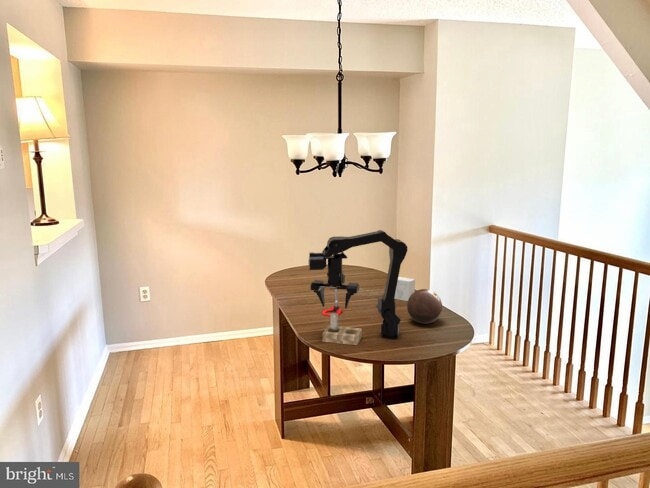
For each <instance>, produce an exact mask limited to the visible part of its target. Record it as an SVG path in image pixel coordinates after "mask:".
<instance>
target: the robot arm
mask: <svg viewBox="0 0 650 488" xmlns="http://www.w3.org/2000/svg"><path fill="white" fill-rule="evenodd" d="M326 242H327V243H326V246H325V248H323V250H322V251H321V252H309V253H308V255H309V256H308V270H309V271H323V270H324V269H326V268H327V272H326V276H327V277H326V278H327V283H325V282H324V280H320V279H319V280H318V279H315V280H313V282H311V283H310V287H309V288H310V291H313V293H316V296H317V297H318V299H319V302H320V303H321V306H322V307H323V308H324V307H325V305H326V304H325V303H326V301H325V289H329V290H330V289H332V290H335V289H337V290H343V291H344V290H345V291H346V293H345V303H344V308H345V310H347V308H348V306H349V302H350V300H351V298H352V297H353V296H354V295H355V294H358V292H359V291H360V284H359V283H358V282H349V283H348V284H345V282H346V275H345V274H344V272H343V259H344V260H345V259H348V256H347V254H345V252H346V251H348V250H349V249H351V248H354V247H361V246H365V245H369V244H374V243H379V242H382V243H383V244H384V245H385V246H387V247H389V248H388V250H389V251H388V254H389V255H388V257H389V264H388V265H389V266H388V270H387V274H386V275H387V276H386V282H385V286H384V292H383V295H382V297H377V305H376V309H377V312H378V313H379V315H380V316H381V318H382V320H383V321H382V323H381V325H380V326H381V327H380V334H381V338H386V339H394V340H395V339H398V338H399V336H400V331H399V328H400V323H401V318H400V317H399V315H398V314H397V313H396V301H395V300H396V299H394V297H395V292H396V287H397V282H398V277H400V275H399V274H400V270H401V265H402V263H403V261H404V260H405V258H406V255H407V253H408V250H409V248H408V245H407V244H406V243H405V242H404V241H402V240H401V239H398V238H397V239H396V238H395V239H394V238H393V237H391V236H390V235H389V234H387V233H386V232H385V231H384V230H382V229H378V230H376V231H371V232H366V233H361V234H356V235H352V236H331V237H329V238H328V240H327V241H326Z"/></svg>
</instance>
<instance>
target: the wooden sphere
mask: <svg viewBox="0 0 650 488" xmlns="http://www.w3.org/2000/svg"><path fill="white" fill-rule="evenodd" d="M406 302H407V303H406V308H407V313H408V315H409V316H410V317H411V319H413V321H414V322H417V323H419V324H426V325H427V324H431V323H433V322H435V321H436V320H438V319H439V317H440V316H441V313H442V311H443V303H442V300H441V297H440V296H439V295H438V294H437V293H436V292H435V291H433V290H431V289H427V288H421V289H417V290H415V292H414V293H413V294H412V295H411V296H410V297H409V299H408V301H406Z"/></svg>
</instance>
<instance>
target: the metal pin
mask: <svg viewBox="0 0 650 488" xmlns="http://www.w3.org/2000/svg"><path fill="white" fill-rule="evenodd" d="M336 313H337V312H336ZM336 313H333V312H332V313H329V314H330V317H329V318H330V323H329V325H330V332H337V333H338V326H339V315H338V314H336Z"/></svg>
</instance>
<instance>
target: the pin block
mask: <svg viewBox="0 0 650 488" xmlns="http://www.w3.org/2000/svg"><path fill="white" fill-rule="evenodd" d="M362 337H363V329H362V328H360V327H359V328H357V327H351V326H350V327H349V326H339V325H338V333H337V332H330V324H329V325H327V326H326V328H325V329H324V331H323V332H322V342H324V343H332V344H340V345H341V344H343V345H352V346H359V345H358V344H359V343H360V341H361V339H362Z"/></svg>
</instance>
